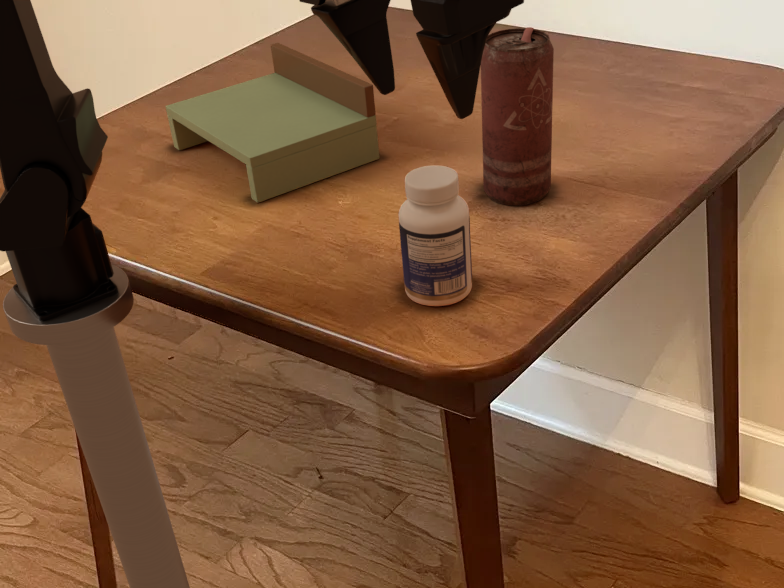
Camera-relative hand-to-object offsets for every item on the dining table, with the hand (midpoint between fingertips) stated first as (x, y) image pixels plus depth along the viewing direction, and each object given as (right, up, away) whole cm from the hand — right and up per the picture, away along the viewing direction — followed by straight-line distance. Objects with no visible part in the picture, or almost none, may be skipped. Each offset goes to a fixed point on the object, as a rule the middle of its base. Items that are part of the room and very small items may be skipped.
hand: (425, 104), depth 74 cm
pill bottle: (+1, -13, +8) cm, 15 cm away
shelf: (-15, +5, +31) cm, 35 cm away
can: (+9, -2, +21) cm, 23 cm away
